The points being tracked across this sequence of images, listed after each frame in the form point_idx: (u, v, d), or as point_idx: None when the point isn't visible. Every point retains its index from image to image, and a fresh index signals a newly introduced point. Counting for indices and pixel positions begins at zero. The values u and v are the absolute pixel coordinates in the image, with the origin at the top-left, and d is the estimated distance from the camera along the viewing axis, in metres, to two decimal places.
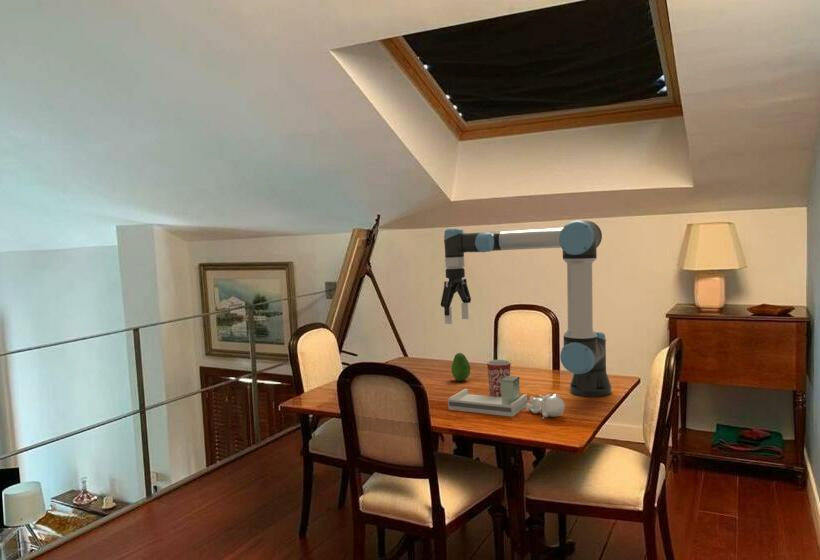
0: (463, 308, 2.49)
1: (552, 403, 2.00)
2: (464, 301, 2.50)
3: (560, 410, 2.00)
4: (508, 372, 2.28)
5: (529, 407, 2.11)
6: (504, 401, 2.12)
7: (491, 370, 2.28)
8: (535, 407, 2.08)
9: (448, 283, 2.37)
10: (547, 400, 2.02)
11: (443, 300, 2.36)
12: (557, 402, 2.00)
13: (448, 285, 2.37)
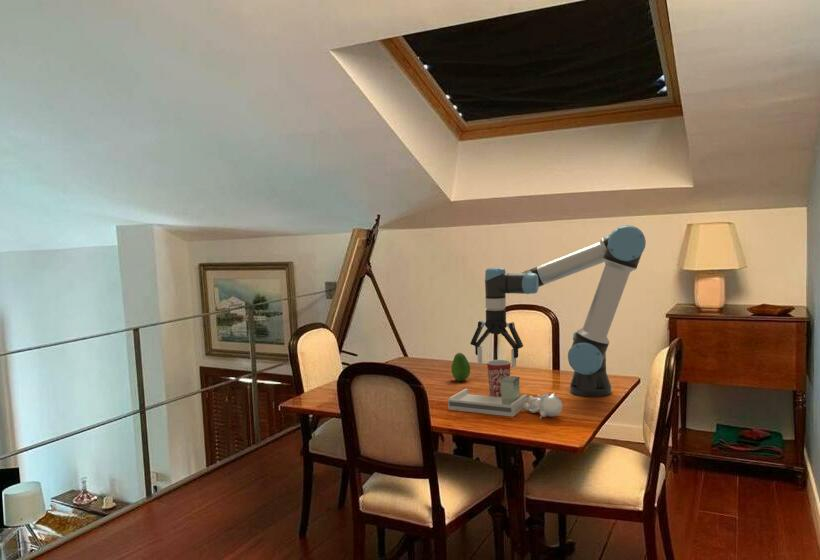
0: None
1: (550, 402, 2.01)
2: None
3: (557, 410, 2.00)
4: (508, 372, 2.28)
5: (527, 407, 2.12)
6: (504, 401, 2.12)
7: (491, 370, 2.28)
8: (533, 407, 2.09)
9: None
10: (544, 400, 2.02)
11: None
12: (554, 402, 2.01)
13: None
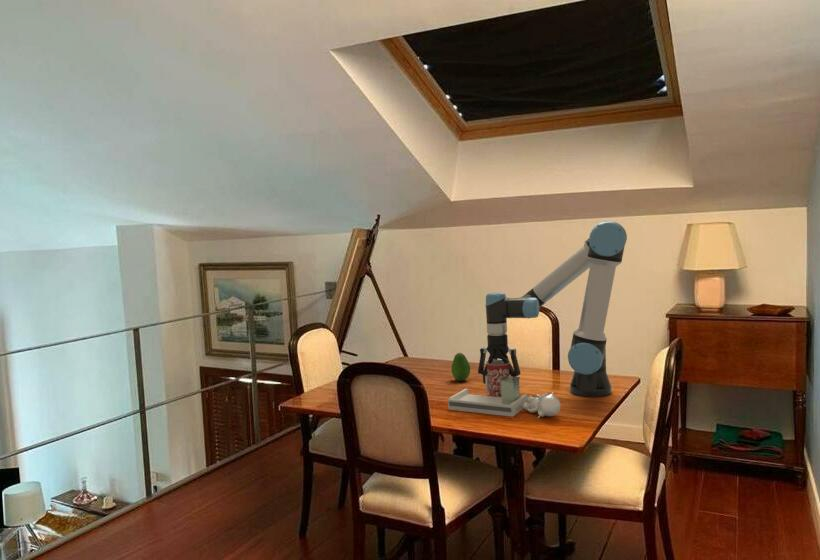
0: None
1: (547, 402, 2.01)
2: None
3: (555, 410, 2.01)
4: (508, 372, 2.28)
5: (526, 406, 2.12)
6: (504, 401, 2.12)
7: (491, 370, 2.28)
8: (532, 406, 2.09)
9: None
10: (543, 399, 2.02)
11: None
12: (552, 402, 2.01)
13: None
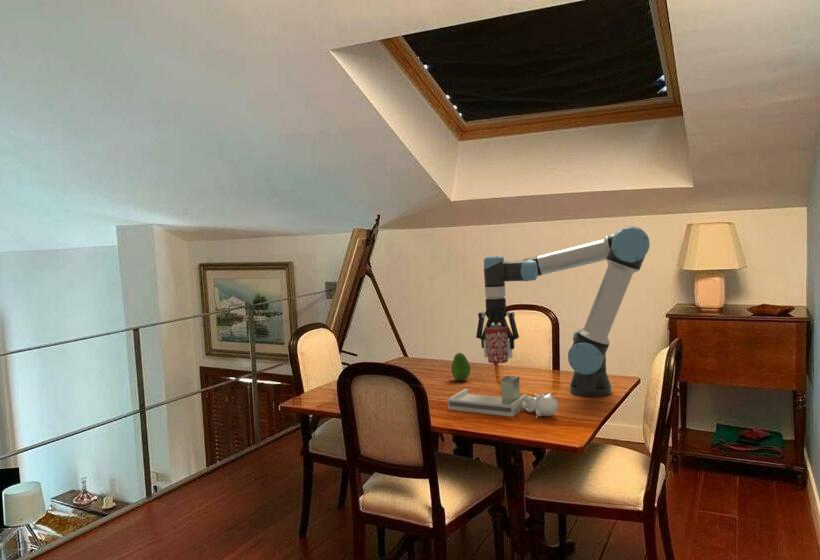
0: None
1: (545, 402, 2.01)
2: None
3: (553, 409, 2.01)
4: (506, 335, 2.27)
5: (524, 406, 2.12)
6: (504, 401, 2.12)
7: (489, 334, 2.27)
8: (530, 406, 2.09)
9: None
10: (540, 399, 2.03)
11: None
12: (550, 401, 2.01)
13: None
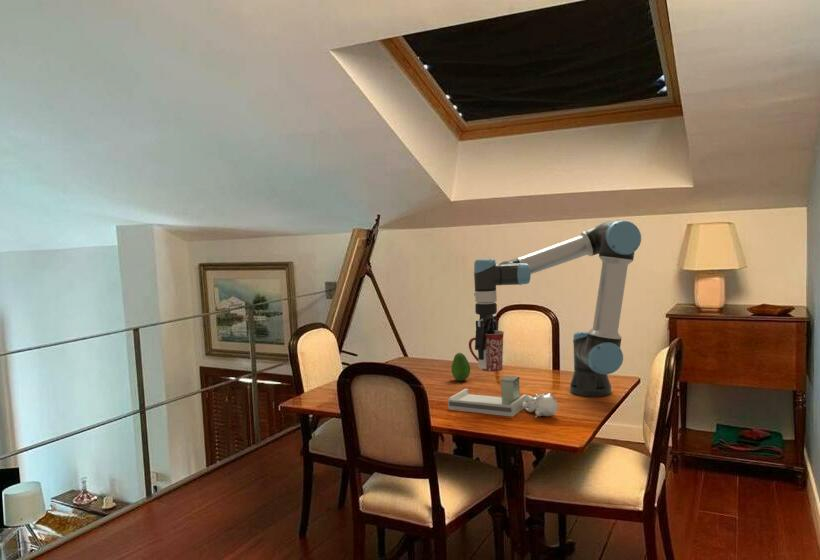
0: None
1: (544, 402, 2.01)
2: None
3: (552, 410, 2.01)
4: None
5: (525, 406, 2.13)
6: (504, 401, 2.12)
7: (500, 340, 2.15)
8: (530, 406, 2.10)
9: (480, 323, 2.11)
10: (540, 399, 2.03)
11: (477, 343, 2.12)
12: (549, 401, 2.01)
13: (481, 325, 2.12)
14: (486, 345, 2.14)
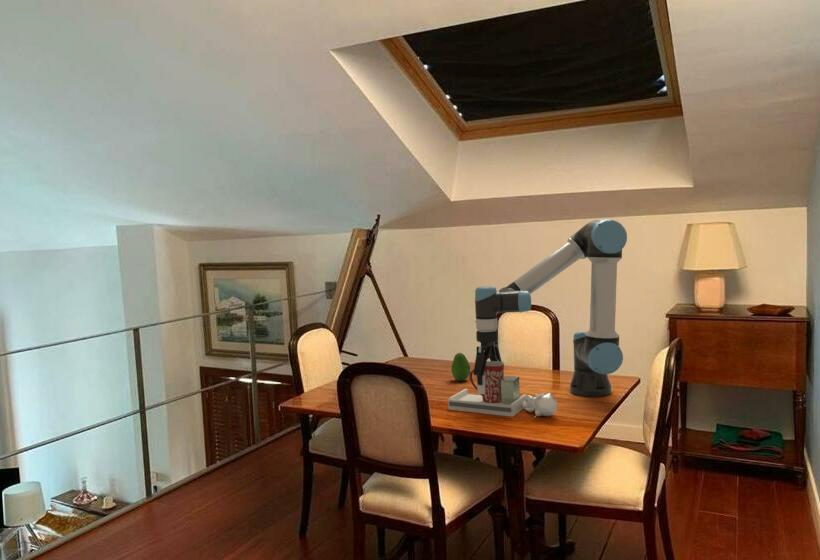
0: None
1: (544, 402, 2.02)
2: None
3: (551, 409, 2.01)
4: None
5: (525, 406, 2.13)
6: (504, 401, 2.12)
7: (500, 371, 2.16)
8: (530, 406, 2.10)
9: (481, 349, 2.12)
10: (539, 399, 2.03)
11: (476, 368, 2.11)
12: (548, 401, 2.01)
13: (481, 351, 2.12)
14: (486, 376, 2.16)
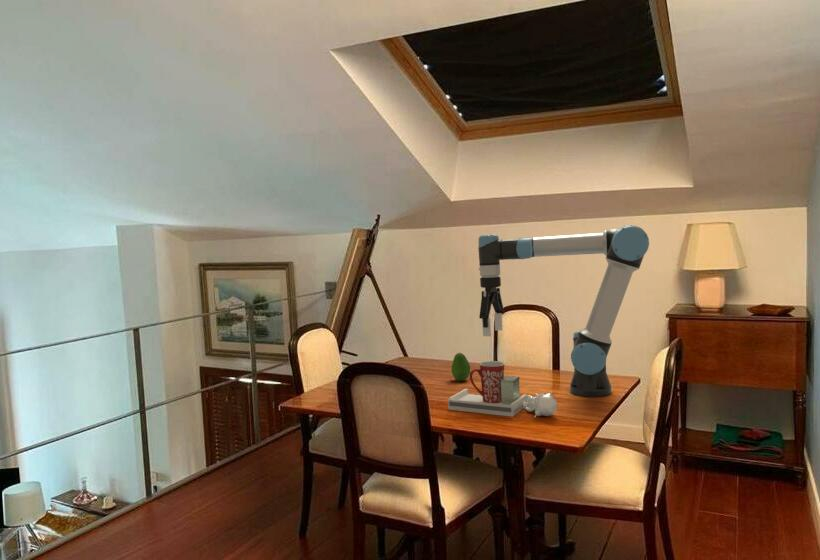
0: (496, 319, 2.35)
1: (543, 402, 2.02)
2: (497, 311, 2.36)
3: (551, 409, 2.01)
4: None
5: (525, 405, 2.13)
6: (504, 401, 2.12)
7: (500, 372, 2.16)
8: (530, 406, 2.10)
9: (486, 293, 2.22)
10: (539, 399, 2.03)
11: (482, 311, 2.21)
12: (548, 401, 2.02)
13: (486, 295, 2.22)
14: (487, 377, 2.16)
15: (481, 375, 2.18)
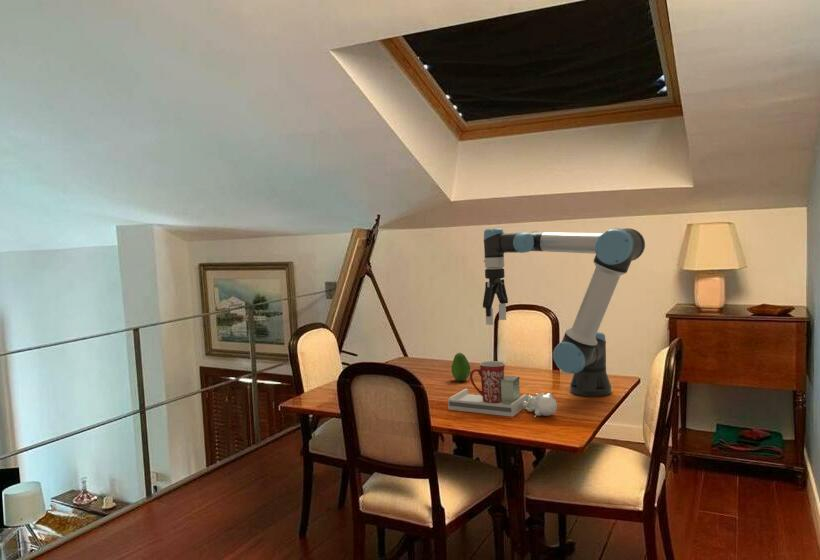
0: (500, 309, 2.47)
1: (543, 402, 2.02)
2: (501, 302, 2.48)
3: (551, 409, 2.01)
4: None
5: (525, 405, 2.13)
6: (504, 401, 2.12)
7: (501, 372, 2.16)
8: (530, 405, 2.10)
9: (490, 283, 2.34)
10: (538, 399, 2.03)
11: (485, 301, 2.33)
12: (548, 401, 2.02)
13: (490, 285, 2.34)
14: (487, 377, 2.16)
15: (481, 375, 2.18)
